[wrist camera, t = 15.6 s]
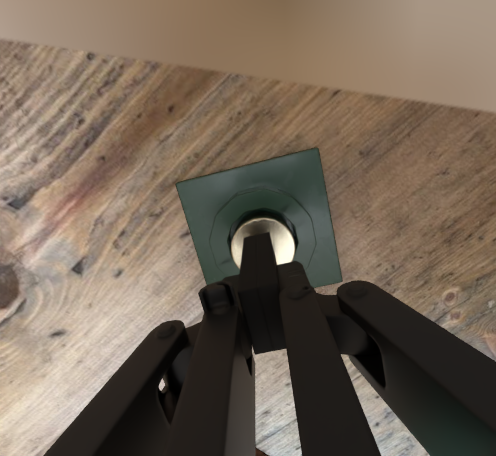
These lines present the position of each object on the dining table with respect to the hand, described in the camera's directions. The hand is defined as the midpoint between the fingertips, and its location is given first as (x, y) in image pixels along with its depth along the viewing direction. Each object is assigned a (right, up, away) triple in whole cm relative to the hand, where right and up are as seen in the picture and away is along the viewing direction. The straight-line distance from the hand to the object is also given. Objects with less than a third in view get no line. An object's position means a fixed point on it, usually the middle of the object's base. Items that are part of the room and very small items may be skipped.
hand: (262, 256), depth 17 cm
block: (0, +1, +5) cm, 5 cm away
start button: (0, +1, +3) cm, 3 cm away
